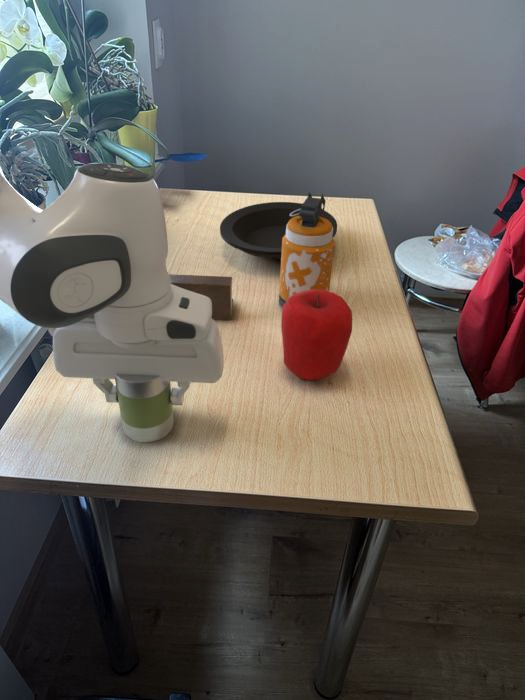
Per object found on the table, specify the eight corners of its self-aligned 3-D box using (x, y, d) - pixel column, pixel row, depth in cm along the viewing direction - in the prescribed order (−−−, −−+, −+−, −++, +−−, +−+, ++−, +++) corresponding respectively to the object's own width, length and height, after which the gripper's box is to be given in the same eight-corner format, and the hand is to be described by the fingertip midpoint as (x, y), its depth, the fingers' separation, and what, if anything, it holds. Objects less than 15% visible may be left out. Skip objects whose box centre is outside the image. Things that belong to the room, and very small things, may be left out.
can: (131, 449, 67) (121, 389, 61) (116, 416, 72) (106, 358, 66) (181, 432, 70) (176, 373, 64) (163, 402, 75) (157, 344, 69)
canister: (272, 312, 95) (278, 204, 83) (288, 284, 103) (295, 182, 92) (321, 321, 93) (334, 211, 81) (333, 292, 101) (346, 189, 90)
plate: (295, 290, 102) (297, 263, 98) (195, 257, 112) (194, 232, 108) (353, 240, 121) (357, 216, 118) (264, 216, 131) (265, 194, 128)
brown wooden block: (127, 316, 92) (122, 280, 88) (134, 300, 97) (130, 265, 93) (230, 320, 92) (230, 285, 88) (233, 304, 97) (233, 269, 93)
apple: (330, 401, 76) (341, 321, 68) (266, 379, 79) (269, 301, 71) (353, 362, 84) (366, 286, 76) (294, 344, 87) (300, 269, 79)
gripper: (32, 320, 58) (57, 414, 66) (219, 328, 58) (221, 421, 66) (52, 292, 63) (73, 382, 71) (224, 298, 63) (225, 388, 71)
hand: (145, 400), depth 68 cm, fingers closed on can, 7 cm apart
